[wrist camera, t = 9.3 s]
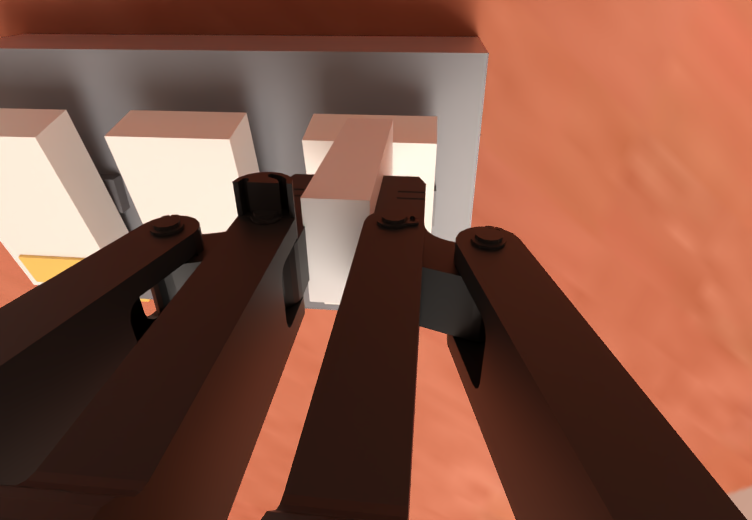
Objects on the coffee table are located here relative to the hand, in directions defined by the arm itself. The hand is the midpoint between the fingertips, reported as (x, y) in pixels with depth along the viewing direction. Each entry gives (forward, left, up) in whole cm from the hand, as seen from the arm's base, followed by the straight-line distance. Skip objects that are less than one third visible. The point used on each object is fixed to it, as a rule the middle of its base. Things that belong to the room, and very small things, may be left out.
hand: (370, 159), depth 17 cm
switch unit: (+3, -7, -9) cm, 12 cm away
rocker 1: (+3, -14, -2) cm, 15 cm away
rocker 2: (+3, -7, -2) cm, 8 cm away
